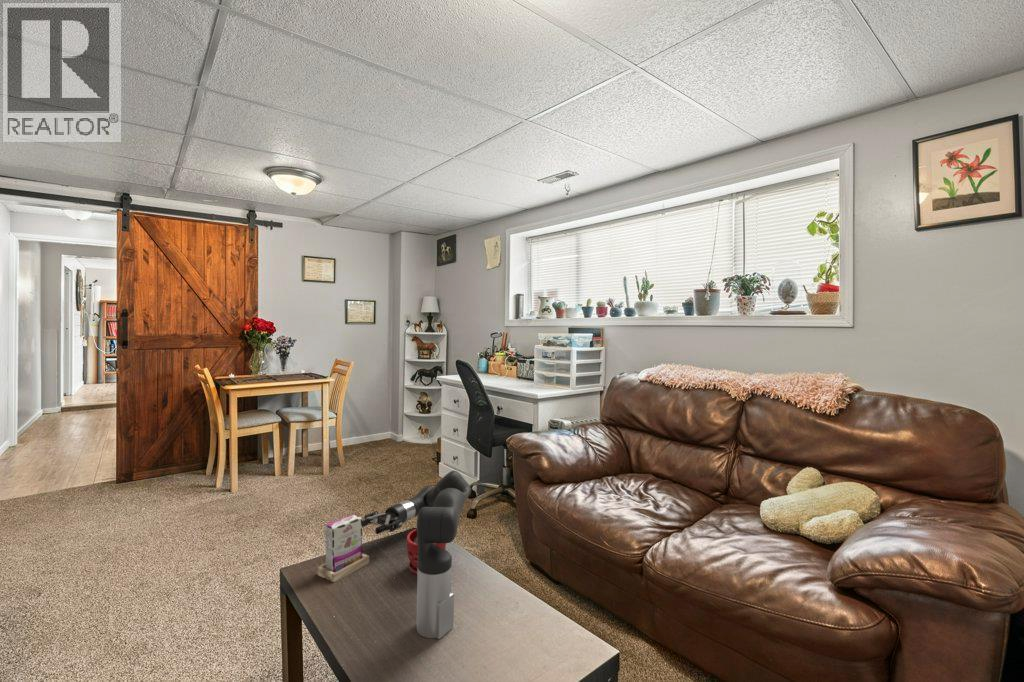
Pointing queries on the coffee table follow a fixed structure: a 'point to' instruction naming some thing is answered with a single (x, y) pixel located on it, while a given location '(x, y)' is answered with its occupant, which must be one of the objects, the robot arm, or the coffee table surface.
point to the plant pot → (416, 550)
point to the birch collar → (344, 571)
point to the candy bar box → (343, 542)
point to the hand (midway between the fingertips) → (367, 528)
